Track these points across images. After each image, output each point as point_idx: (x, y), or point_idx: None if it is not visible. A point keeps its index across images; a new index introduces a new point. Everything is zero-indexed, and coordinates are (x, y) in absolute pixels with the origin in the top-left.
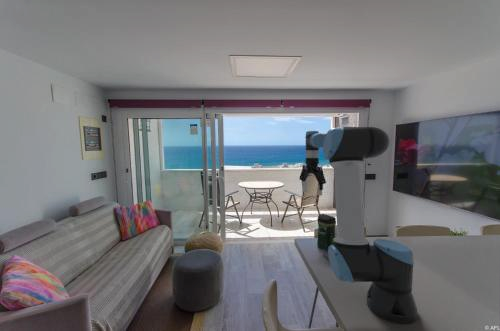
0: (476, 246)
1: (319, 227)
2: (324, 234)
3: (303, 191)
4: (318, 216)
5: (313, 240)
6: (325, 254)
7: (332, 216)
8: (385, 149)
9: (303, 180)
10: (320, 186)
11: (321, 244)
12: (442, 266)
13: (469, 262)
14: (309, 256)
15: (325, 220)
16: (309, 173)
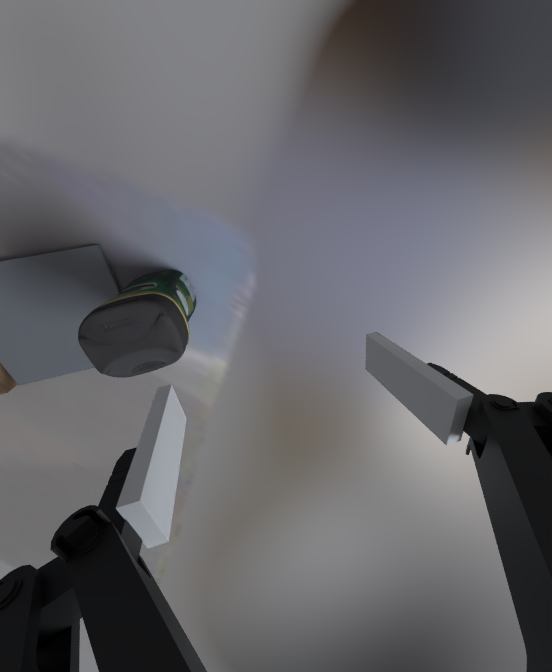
0: None
1: (148, 287)
2: (124, 289)
3: (368, 340)
4: (153, 305)
5: (230, 285)
6: (93, 253)
7: (105, 365)
8: None
9: (478, 419)
10: (115, 493)
11: (151, 275)
12: (5, 492)
13: (26, 540)
14: (99, 188)
15: (92, 312)
16: (526, 645)
